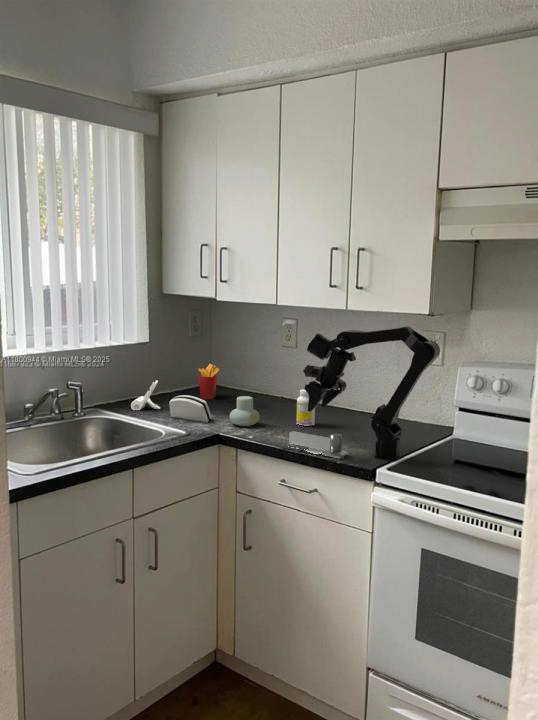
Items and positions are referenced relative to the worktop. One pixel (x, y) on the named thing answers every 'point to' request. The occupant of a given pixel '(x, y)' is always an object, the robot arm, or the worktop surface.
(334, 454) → the pivot base
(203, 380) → the french fries
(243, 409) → the air freshener
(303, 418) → the supplement bottle
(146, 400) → the plastic part
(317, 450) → the label tile
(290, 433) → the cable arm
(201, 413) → the napkin holder
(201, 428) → the worktop surface
